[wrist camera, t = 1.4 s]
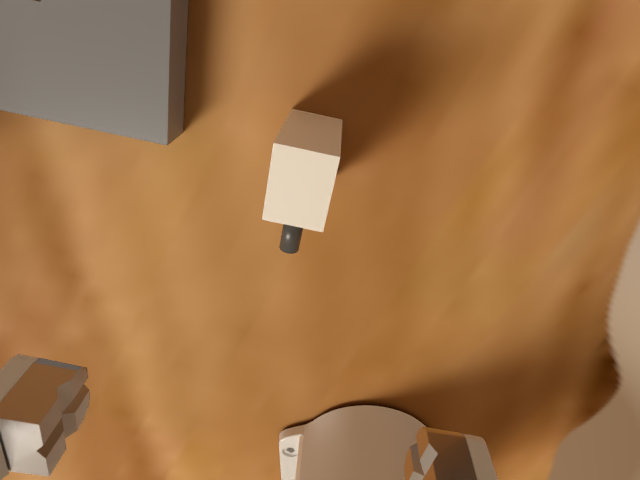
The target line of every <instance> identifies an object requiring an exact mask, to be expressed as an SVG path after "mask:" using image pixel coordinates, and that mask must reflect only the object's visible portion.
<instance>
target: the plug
mask: <svg viewBox="0 0 640 480" xmlns="http://www.w3.org/2000/svg"><path fill="white" fill-rule="evenodd" d="M342 121H343V120H342V119H338V118H333V117H328V116H324V115H319V114H315V113H310V112H306V111H301V110H296V109H291V111H290V113H289V115H288V117H287V119H286V121H285V122H284V124H283V126H282V128H281V130H280V132H279V134H278V136H277V137H276V139H275V141H274V143H273V150H272V157H271V163H270V170H269V177H268V183H267V190H266V197H265V204H264V210H263V217H262V220H266V221H271V222H276V223H281V224H283V230H282V235H281V241H280V247H279V248H280V249H281V250H282V251H283V252H285V253H290V254H293V253H296V252H298V250H299V245H300V240H301V235H302V230H303V228H305V229H310V230H315V231H320V232H323V229H324V225H325V221H326V217H327V212H328V208H329V204H330V199H331V195H332V191H333V186H334V182H335V178H336V174H337V169H338V165H339V161H340V154H341V138H342Z"/></svg>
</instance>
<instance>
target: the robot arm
mask: <svg viewBox="0 0 640 480" xmlns="http://www.w3.org/2000/svg"><path fill="white" fill-rule="evenodd" d="M87 378H88V373H87V368H86V367H81V366H77V365H72V364H67V363H62V362H57V361H52V360H47V359H42V358H37V357H32V356H27V355H21V354H18V355H16V356H14V357H13V358H11V359H10V360H9V361H8V362H7V363H6V364H5V365H4V366H3V367H2V368H1V370H0V480H1V479H2V478H4V477H5V476H6V475H8V474H9V471H11V472H19V473H27V474H34V475H42V476H50V474H51V473H52V471H53V469H54V468H55V466H56V464H57V463H58V461H59V460H60V458H61V456H62V455H63V453H64V451H65V450H66V443H65V438H66V437H68V436H69V435H71V434H73V433H74V432H76V431H77V430H78V428H79V427H80V425H81V423H82V421H83V420H84V417H85V415H86V412H87V409H88V407H89V400H90V392H89V389H88V388H87V387H86V386H85V385H84V383H85V381H86V380H87ZM279 452H280V467H281V480H498V478H497V475H496V472H495V469H494V466H493V463H492V460H491V457H490V454H489V451H488V448H487V445H486V442H485V440H484V439H483V438H482V437H479V436H473V435H468V434H461V433H459V432H453V431H447V430H441V429H435V428H428V427H426V426H425V425H424V424H423V423H421V422H420V421H419V420H417V419H416V418H414V417H412V416H410V415H408V414H406V413H404V412H401V411H398V410H395V409H391V408H387V407H381V406H370V405H361V406H350V407H344V408H340V409H336V410H333V411H330V412H328V413H326V414H323V415H322V416H320V417H318V418H316V419H315V420H313V421H312V422H310V423H308V424H305V425H301V426H297V427H292V428H288V429H285V430H283V431H282V432H281V433H280V435H279Z"/></svg>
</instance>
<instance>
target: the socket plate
mask: <svg viewBox="0 0 640 480" xmlns="http://www.w3.org/2000/svg"><path fill="white" fill-rule="evenodd" d="M188 3H189V0H0V110H3V111H7V112H12V113H17V114H22V115H26V116H31V117H36V118H41V119H45V120H50V121H55V122H59V123H64V124H69V125H74V126H78V127H83V128H88V129H93V130H97V131H102V132H107V133H111V134H116V135H121V136H126V137H130V138H135V139H140V140H144V141H149V142H154V143H159V144H163V145H168V144H170V143H171V142H172V141H173V140H175V139H176V138H177V137H178V136H180V135H181V134H182V133H183V121H184V98H185V74H186V50H187V26H188Z"/></svg>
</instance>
